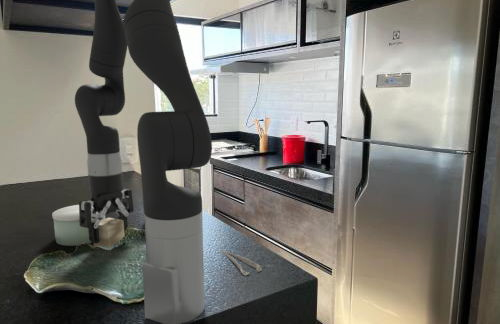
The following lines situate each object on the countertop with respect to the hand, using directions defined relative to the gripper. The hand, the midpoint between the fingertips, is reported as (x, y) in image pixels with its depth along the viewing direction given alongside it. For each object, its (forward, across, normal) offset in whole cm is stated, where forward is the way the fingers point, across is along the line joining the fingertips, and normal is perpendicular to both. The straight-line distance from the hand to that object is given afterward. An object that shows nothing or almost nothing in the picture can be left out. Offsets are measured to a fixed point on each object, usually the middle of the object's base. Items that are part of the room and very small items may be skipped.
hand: (109, 236), depth 91 cm
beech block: (+2, 0, 0) cm, 2 cm away
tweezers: (+3, +7, -30) cm, 31 cm away
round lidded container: (+2, +1, +11) cm, 11 cm away
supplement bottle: (+2, +18, +1) cm, 18 cm away
